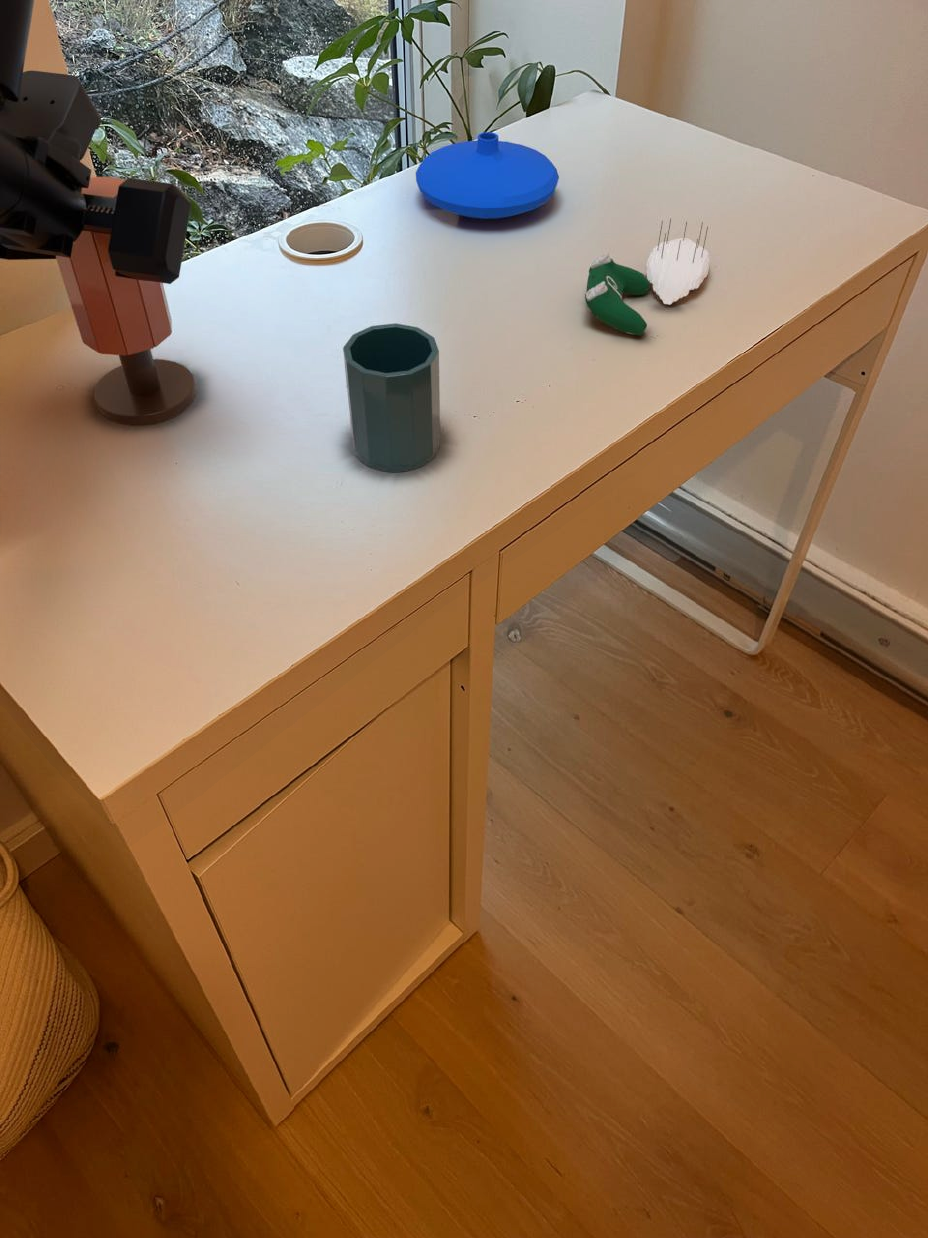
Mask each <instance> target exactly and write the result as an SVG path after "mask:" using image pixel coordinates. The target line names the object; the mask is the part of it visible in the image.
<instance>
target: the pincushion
mask: <svg viewBox="0 0 928 1238" xmlns="http://www.w3.org/2000/svg"><path fill="white" fill-rule="evenodd" d="M671 222H672V218H670V219H669V226H668V231H667V232H665V235H664V239H663V242H661V243H660V241H661V234H662V229H663V224H664V223H663V220H661V226H660V232H659V238H658V243H657V245H656V246H654V247H653V249H652V251H651V252H650V253H649V255H648V258H647V260H646V264H645V269H646V271H645V272H646V273H645V274H646V278H647V279H648V281H649V283H650V284H652V290H653V292H655V293H656V295H657V296H658V297H659V299H660V300H662V302H663V305H669V306H670V305H672V304H673V303H674V302H677V301H678V300H679V299H682V298H683V297H687V296H688V295H689V293H690V291H691V290H692V291H694V290H697V289H698V288H699V287H700V285H701V284H702V283H703V282H704V279H705V278H707V276H708V273H709V270H710V266H711V257H710V254H709V251H708V250H707V248H705V244H706V239H707V235H708V230H709V229H708V228H709V226H706V231H705V236H704V240H703V241H704V242H703V246H702V245H700V239H701V234H702V229H703V224H704V223H703V221H702V222H701V226H700V230H699V231H700V232H699V237H698V238H697V239H696V242H694V240H692V239H690V238H687V237H686V231H687V225H688V221H686V222H685V228H684V234H683V237H678V238H675V239H670V240H668V239H669V233H670V230H671V229H670V228H671ZM666 236H667V237H666ZM685 237H686V238H685Z"/></svg>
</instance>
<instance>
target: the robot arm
mask: <svg viewBox="0 0 928 1238" xmlns="http://www.w3.org/2000/svg"><path fill="white" fill-rule="evenodd" d="M34 4H35V0H0V260H7V261H23V260H24V261H29V260H57V259H56V256H61V257H68V258H71V253H72V247H73V245H74V244H75V240H77V239H78V237H79V236H80V234H81V232H82V231H89V232H96V233H103V234H110V235H111V236H110V242H109V248H108V253H109V256H110V260H111V264H112V267H113V269H114V270H115V271H116V273H115V276H117V277H124V278H130V279H137V280H143V281H153V282H160V283H163V284H168V285H171V284H172V283H174V282H175V281H176V280H178V279H179V278H180V275H181V274H180V273H181V267H182V261H183V256H184V251H185V244H186V238H187V232H188V226H189V221H190V216H191V215H190V214H191V209H192V202H191V201H190V200H189V198H188V196H187V195H186V193H184V191H183V190H181V189H180V188H178V187H177V186H176V185H175V184H174V183H170V182H161V181H155V180H147V179H140V178H132V177H127V178H126V179H124V180H125V181H124V182H123V183H122V184H120V185H119V188H118V194H117V195H116V196H115V197H114V198H111V197H104V196H96V195H89V194H82V193H81V192H82V188H88V187H89V182H90V177H91V176H92V169H90V167H88V166H87V165H86V164H84V163H83V162H81V161H82V160H83V159H84V158H85V155H86V153H87V151H88V148H89V146H90V144H91V141H92V139H93V137H94V135H95V132H96V131H97V130H99V129H100V127H101V124H102V117H101V115H100V114H99V112H98V110H97V108H96V106H95V104H94V103H93V101H92V99H91V97H90V96H89V94H88V92H87V91H86V89H85V87H84V86H83V83H82V82H81V81H80V79H79V78H78V76H76V75H73V74H67V73H59V72H58V73H57V72H49V71H41V70H40V71H39V70H25V71H24V68H25V61H26V55H27V48H28V42H29V36H30V30H31V22H32V15H33V9H34ZM86 208H87V209H86ZM91 209H92V210H93V211H92V210H91ZM96 210H97V211H96ZM101 211H102V212H101ZM106 212H108V213H106Z"/></svg>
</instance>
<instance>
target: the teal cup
mask: <svg viewBox="0 0 928 1238" xmlns="http://www.w3.org/2000/svg"><path fill="white" fill-rule="evenodd" d="M342 351H343V361H344V371H345V372H344V373H345V381H346V392H347V402H348V414H349V422H350V431H351V440H352V444H353V451H354V454H355V456H356V457H357V459H358V460H359V461H360V462H361V463H362V464H364V465H365V466H367V467H369V468H372V469H374V470H377V471H380V472H381V471H382V472H387V473H403V472H409V471H413V470H416V469H418V468H421V467H423V466H424V465H426V464H428V463H429V462H430V461H432V460H433V459H434V458H435V457H436V455H437V453H438V451H439V448H440V442H441V405H440V403H441V401H440V400H441V399H440V398H441V397H440V395H441V394H440V393H441V391H440V350H439V347H438V344H437V341H436V339H435V337H434V336H433V335H431V334H429V333H428V332H427V331H425V330H423V329H422V328H420V327H418V326H413V325H407V324H403V323H395V322H394V323H386V324H378V325H370V326H369V327H366V328H364V329H362V330H360V331H357V332H355V333H353V334H352V335H351V336H350V338H349V339H348V340H347V342H346V343H345V345H344V346H343V347H342Z"/></svg>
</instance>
